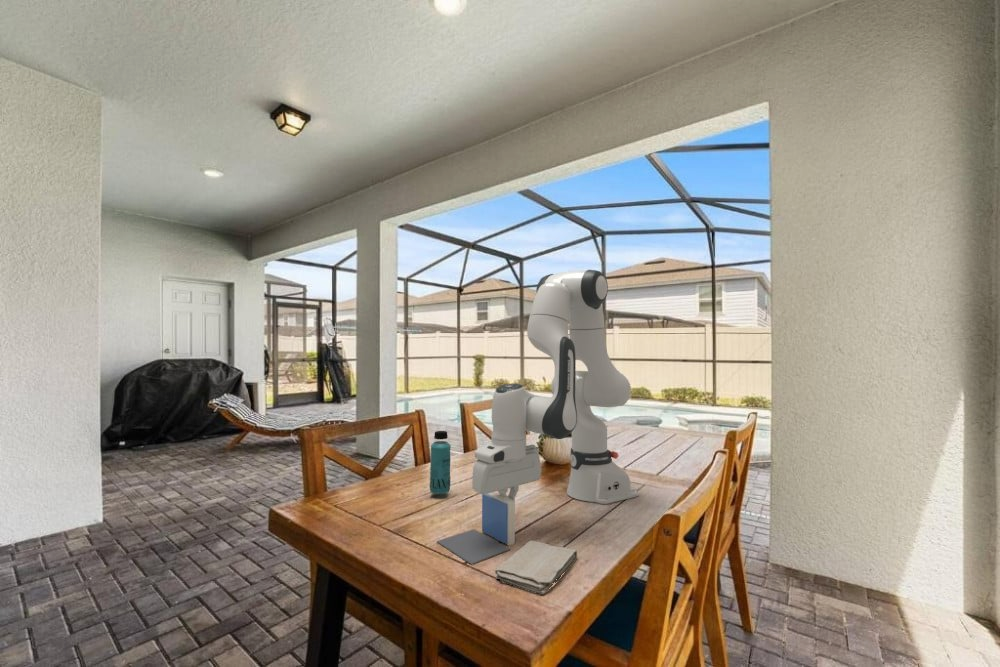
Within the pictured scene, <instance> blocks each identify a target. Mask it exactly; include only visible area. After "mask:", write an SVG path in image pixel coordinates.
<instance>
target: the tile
mask: <svg viewBox="0 0 1000 667" xmlns="http://www.w3.org/2000/svg"><path fill="white" fill-rule="evenodd" d="M481 504H482V505H481V510H482V511H481V532H483V534H484V533H485V535H487V536H490V537H492V538H493V537H494V538H493V539H494V540H497V541H498V542H501V543H503V544H504V543H505V545H506V544H507V546H508V545H509V546H511V545H510V544H512V545H514V544H515V543H516V541H515V540H516V538H515V537H516V500H515V501H513V500H511V499H508V498H506V497H504V496H501V495H500V494H499V493H496V492H492V493H488V494H484V495H482V494H481ZM513 543H514V544H513Z"/></svg>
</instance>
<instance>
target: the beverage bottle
mask: <svg viewBox="0 0 1000 667" xmlns="http://www.w3.org/2000/svg"><path fill="white" fill-rule="evenodd" d="M433 437H434V438H433V439H435V440H438V441H435V442H433V443H432V444H431V445H430V468H429V470H430V471H429V475H430V476H429V492H430V493H431V494H435V495H444V494H447V493H449V492H450V490H451V448H452V447H451V444H450V443H449V441H446V440H447V439H448V431H446V430H437V431H434V436H433Z"/></svg>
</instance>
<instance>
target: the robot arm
mask: <svg viewBox="0 0 1000 667" xmlns="http://www.w3.org/2000/svg"><path fill="white" fill-rule="evenodd" d="M608 286H609V285H608V280H607V278H606V276H605V275H604V274H603V272H602V271H599V270H595V269H587V270H582V269H581V270H578V269H577V270H569V271H568V270H567V271H563V272H559V273H558V272H557V273H550V274H547V275H545V276H542V277H541V278H540V279H539V281H538V282H537V285H536V289H535V290H536V292H535V293H536V294H535V297H534V299H533V302H532V305H531V308H530V311H529V312H530V313H529V318H528V323H527V330H526V335H527V338H528V340H529V342H530V344H531V345H532V346H533V347H534V348H536V349H537V350H538V351H540V352H542V353H544V354H546V355H547V356H549V358H551V359H552V361H553V364H554V376H553V378H552V380H551V385H550V389H551V390H550V391H551V394H552V396H550V397H549V396H543V395H536V394H534V393H531V392H529V391H528V390H527V389H525V386H524V385H523V384H520V383H514V382H513V383H512V382H511V383H505V384H502V385H500V386H498V387H496V388H495V390H494V392H493V396H492V401H491V404H492V405H491V423H492V433H491V436H490V437H491V440H489V441H488V442H487V443H485V444H484V445H482V446H481V447H478V448H477V449H476V450H474V458H475V459H476V460H475V462H474V464H473V468H472V484H471V485H472V489H473V490H474V492H475V493H477V494H480V495H481V496H482V495H484V494H488V493H492V492H494V493H496V492H498V494H499V495H501V496H504V497H506V498H508V499H511V500H513V501H515V502H516V497H517V494H518V492H519V486H521V485H526V484H530V483H533V482H537V481H539V480H540V479H541V476H542V468H541V460H540V455H539V453H540V451H539V448H538V446H536V445H535V444H529V445H527V432H531V433H534V434H540V435H545V436H548V437H550V438H553V439H557V440H563V439H564V438H566V437H568V436H569V435H570V434H571V447H570V453H569V456H570V457H569V458H570V474H569V479H568V480H569V481H568V485H567V489H566V494H567V495H568V496H569V497H571V498H572V499H576V500H579V501H585V502H591V503H597V504H602V505H608V504H613V503H616V502H620V501H623V500H625V501H626V500H629V499H632V498H637V497H638V496H639V491H638V490H637V489H636V488H634V487H632V486H631V480H630V477H629V474H628V472H626V471H625V470H624V469H622V468H621V467H620V466H619V465H617V464H616V462H614V461H613V459H618V458H619V456H620V455H619V453H618V451H617V452H616V451H614V450H612V451H611V450H609V449H608V427H607V425H606V423H605V421H603V419H601V418H599V417H597V415H595V414H594V413H593V411H592V408H591V407H598V408H599V407H600V408H617V407H623V406H624V405H626V403H628V401H629V400H630V397H631V394H632V388H631V387H632V386H631V383H630V381H629V379H628V378H627V377H626V376H625V375H624V374H623V373H621V371H619V370H618V369H617V368H616V367H615V366H614V364H613V362H612V360H611V359H610V357H609V353H608V350H607V342H606V341H607V340H606V330H605V327H606V326H605V325H606V324H605V316H604V311H603V310H604V309H603V306H602V305H603V303H604V302H605V300H606V298H607V296H608V293H609V292H608V291H609V287H608ZM576 359H577V360H579V361H581V362H582V363H583V364H584V365H585V367H586V369H587V370H576ZM508 489H509V491H508ZM508 492H509V493H508ZM507 493H508V494H507Z"/></svg>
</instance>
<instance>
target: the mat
mask: <svg viewBox="0 0 1000 667" xmlns="http://www.w3.org/2000/svg"><path fill="white" fill-rule="evenodd" d="M436 543H437V544H438V545H440V546H442V547H443V546H444V547H443V548H445V549H446V548H447V549H446V550H448V551H449V550H450V551H449V552H451V553H452V552H453V553H452V554H454V555H455V554H456V555H455V556H457V557H458V556H459V557H458V558H459V559H461V558H462V561H464V560H465V562H466V563H468V564H469V563H470V566H473V565H475V564H474V563H476V562H478V563H480V561H481V562H483V561H485V559H486V560H489V559H491V558H494V557H495V556H498V555H502V554H504V553H506V551H507V552H509V551H511V548H510V547H507V546H506V545H504V544H502V543H500V541H498V540H497V541H496V539H494V538H491V537H489V535H487V534H484V533H482V532H481V531H478V530H477V529H476V528H474V529H473V528H472V529H470V530H466V531H464V532H460V533H457V534H455V535H452V536H448V537H445V538H443V539H439V540H437V541H436ZM482 560H483V561H482ZM472 564H473V565H472ZM476 564H477V563H476Z"/></svg>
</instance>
